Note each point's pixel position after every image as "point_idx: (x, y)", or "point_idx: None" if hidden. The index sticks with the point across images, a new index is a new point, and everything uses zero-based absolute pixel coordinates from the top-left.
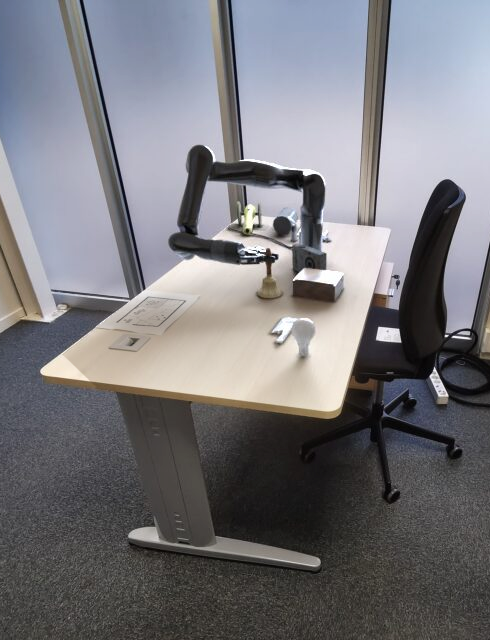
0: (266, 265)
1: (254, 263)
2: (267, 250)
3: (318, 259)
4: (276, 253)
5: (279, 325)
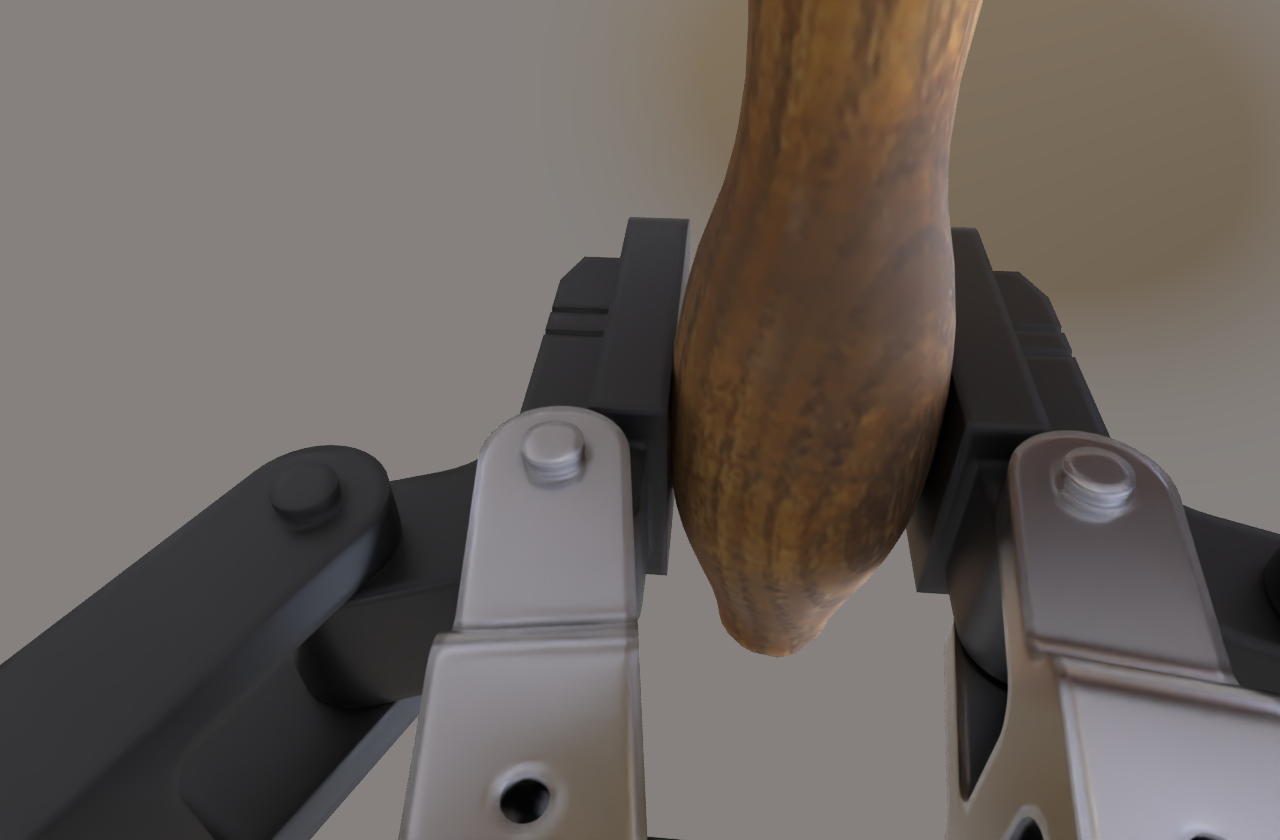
0: (749, 234)
1: (143, 599)
2: (714, 590)
3: None
4: None
5: None
